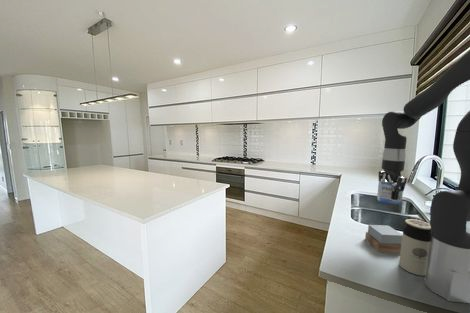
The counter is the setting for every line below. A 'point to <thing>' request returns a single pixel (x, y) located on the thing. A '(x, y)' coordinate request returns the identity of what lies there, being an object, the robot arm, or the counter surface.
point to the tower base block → (383, 245)
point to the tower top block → (385, 234)
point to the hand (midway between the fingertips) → (389, 197)
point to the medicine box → (387, 193)
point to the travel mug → (415, 246)
